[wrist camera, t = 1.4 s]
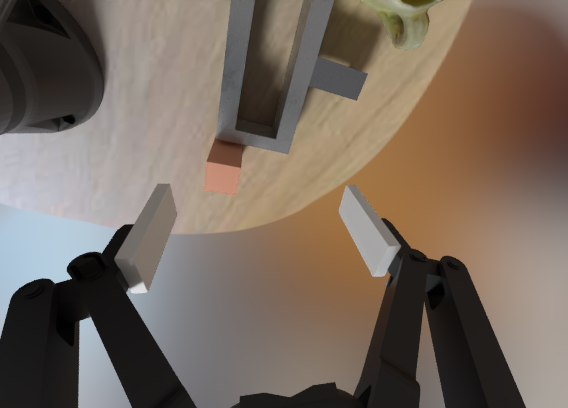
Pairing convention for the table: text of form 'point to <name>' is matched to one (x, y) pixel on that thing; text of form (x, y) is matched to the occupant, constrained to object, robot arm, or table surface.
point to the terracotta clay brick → (223, 167)
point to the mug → (404, 20)
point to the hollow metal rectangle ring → (298, 77)
